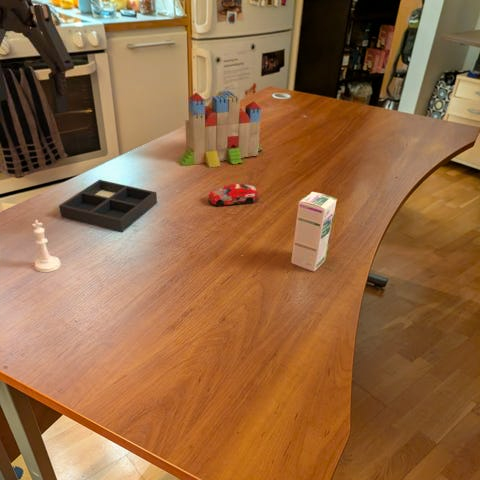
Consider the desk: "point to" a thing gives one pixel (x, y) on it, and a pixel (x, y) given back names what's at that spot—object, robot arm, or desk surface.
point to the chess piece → (44, 252)
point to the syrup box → (313, 230)
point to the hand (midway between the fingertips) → (31, 106)
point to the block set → (221, 130)
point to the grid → (108, 205)
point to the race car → (234, 195)
